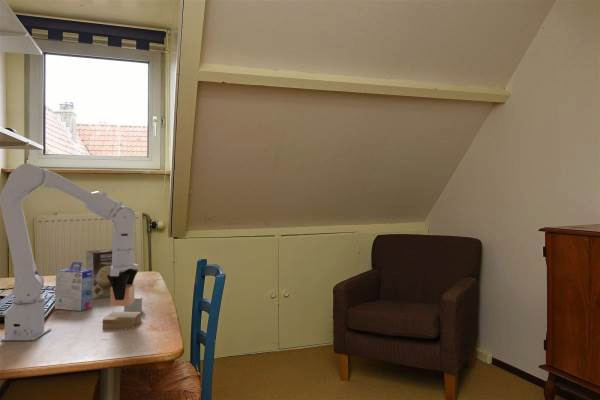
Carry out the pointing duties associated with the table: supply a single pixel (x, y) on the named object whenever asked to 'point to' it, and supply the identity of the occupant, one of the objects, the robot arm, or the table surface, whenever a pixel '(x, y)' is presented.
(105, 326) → the walnut block
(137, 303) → the grey cube
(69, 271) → the ink cartridge box
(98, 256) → the coffee box
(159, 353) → the table surface
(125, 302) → the terracotta cube
